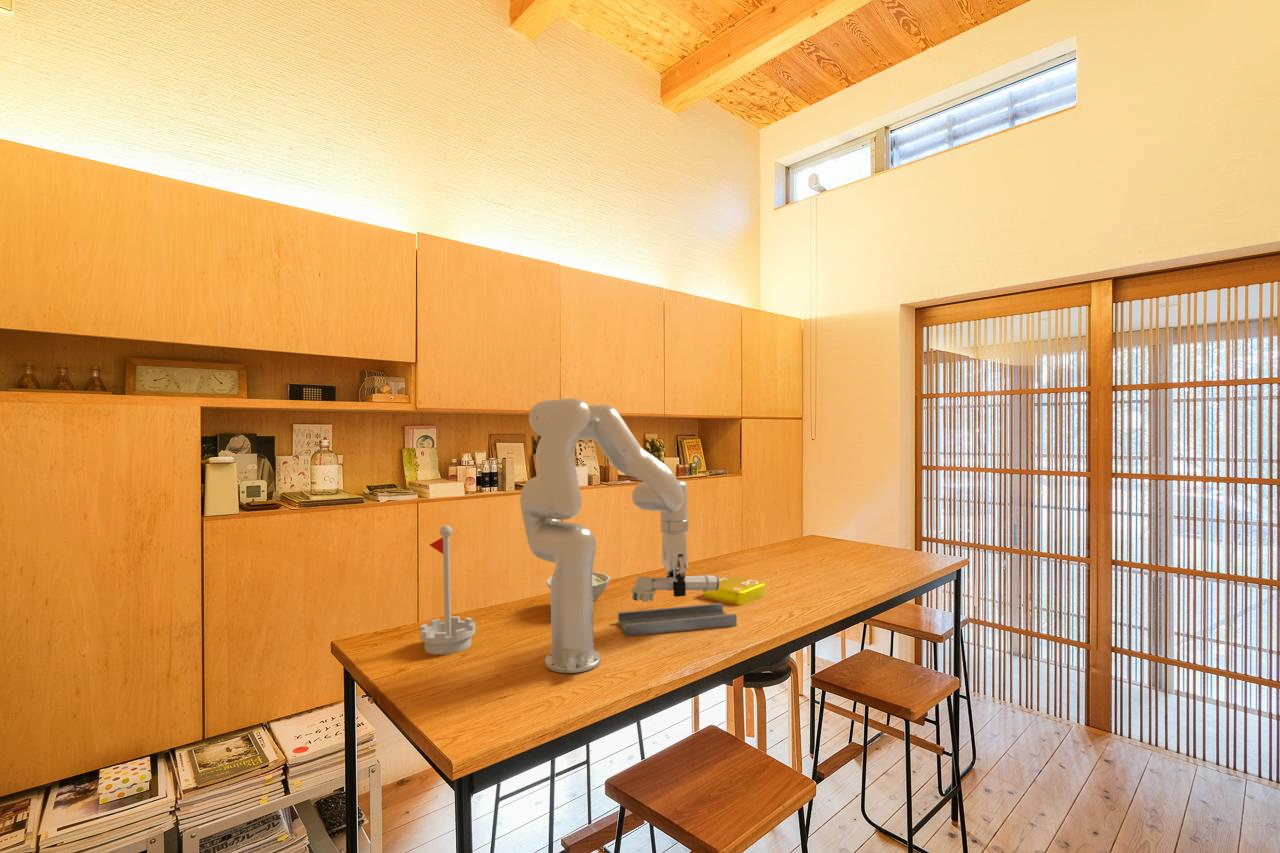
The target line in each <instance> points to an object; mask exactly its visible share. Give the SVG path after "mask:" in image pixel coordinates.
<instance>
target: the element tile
mask: <svg viewBox="0 0 1280 853" xmlns="http://www.w3.org/2000/svg"><path fill="white" fill-rule="evenodd" d="M718 579H719V588H718V589H717V590H707V591H706V592H705V591H703V590H702V597H703V598H704V597H705V599H708V598H709V600H712V599H713V601H716V600H717V602H720V601H721V602H720V603H726V604H729V603H730V604H729V605H733V604H734V605H735V606H744V605H747V604H749V603H752V602H754V601H757V600H759V598H760V599H762V598H764V597H766V584H765V583H764V582H762V581H758V580H753V579H747V578H742V577H737V576H732V575H728V576H724V577H721V578H718ZM756 599H757V600H756ZM751 601H752V602H751ZM746 603H747V604H746ZM743 604H744V605H743Z"/></svg>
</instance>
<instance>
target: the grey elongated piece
mask: <svg viewBox="0 0 1280 853" xmlns="http://www.w3.org/2000/svg"><path fill="white" fill-rule="evenodd" d="M719 579H720V578H719V577H718V576H717V575H707V574H705V573H704V574H702V575H691V576H690V575H688V576H686V575H685V588H686V591H702V592H703V591H705V592H706V591H707V590H717V589H718V588H719ZM673 581H674V577H667V576H666V577H649V576H638V577H637V578H636V580H635V585H634V586H633V587H631V592H632V598H631V599H632V600H633V601H637V602H639V601H642V602H644V603H646V602H647V603H648V602H652V601H653V600H654V594H656V591H669V590H670V591H673Z"/></svg>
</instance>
